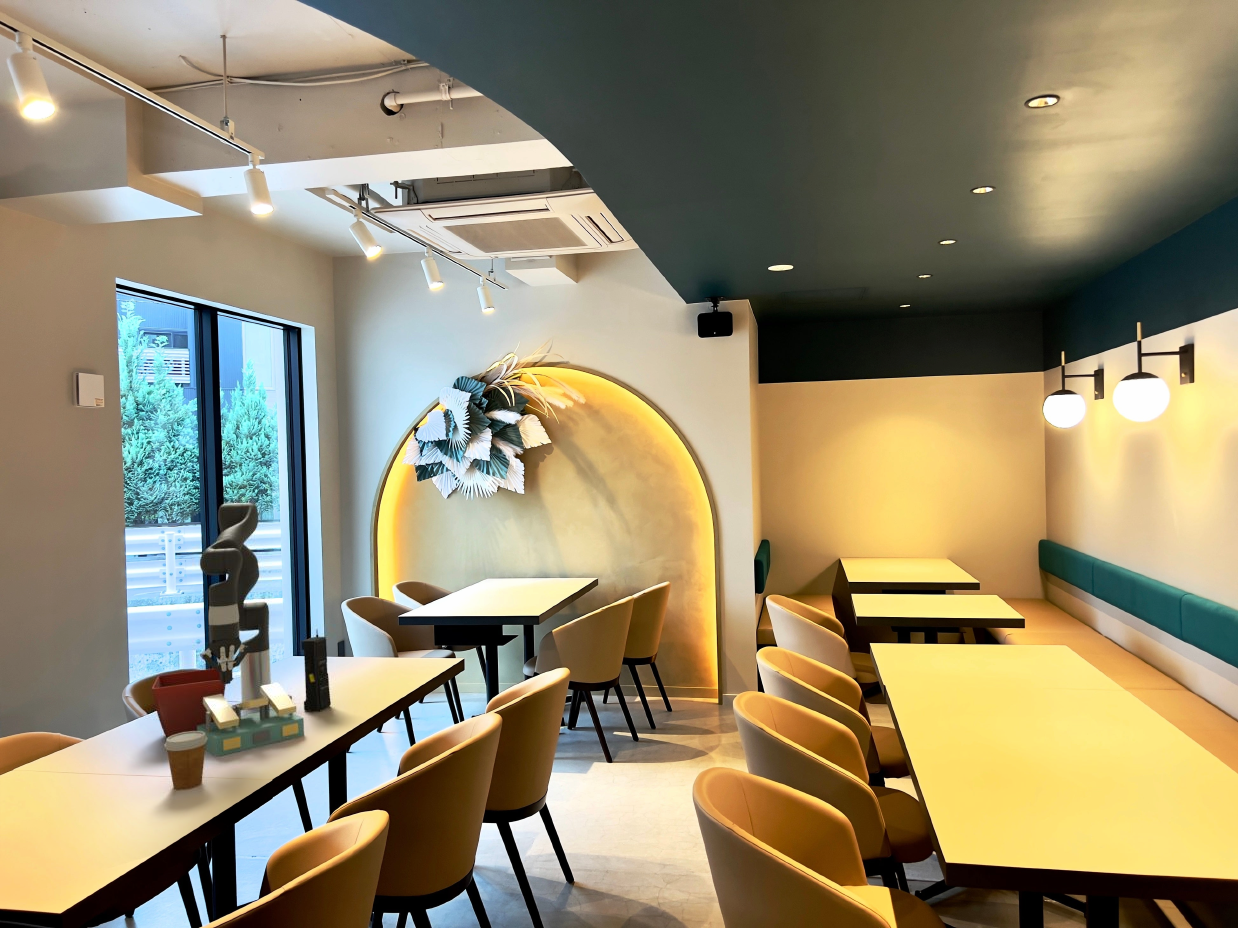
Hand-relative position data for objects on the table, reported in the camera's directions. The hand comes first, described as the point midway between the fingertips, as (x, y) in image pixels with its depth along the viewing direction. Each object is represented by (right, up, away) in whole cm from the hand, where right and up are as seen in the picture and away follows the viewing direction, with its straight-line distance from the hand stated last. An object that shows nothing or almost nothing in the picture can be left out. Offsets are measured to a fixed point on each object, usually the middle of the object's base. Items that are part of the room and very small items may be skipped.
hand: (226, 683), depth 236 cm
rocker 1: (-4, -9, +4) cm, 11 cm away
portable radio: (+11, -19, +39) cm, 45 cm away
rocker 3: (+8, -8, +15) cm, 19 cm away
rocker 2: (+3, -10, +10) cm, 14 cm away
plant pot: (-18, -20, +18) cm, 32 cm away
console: (+3, -19, +10) cm, 21 cm away
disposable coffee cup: (+2, -19, -26) cm, 32 cm away
